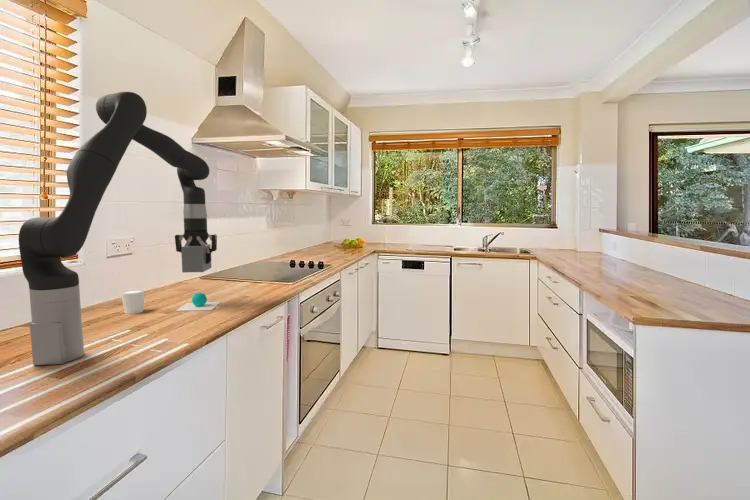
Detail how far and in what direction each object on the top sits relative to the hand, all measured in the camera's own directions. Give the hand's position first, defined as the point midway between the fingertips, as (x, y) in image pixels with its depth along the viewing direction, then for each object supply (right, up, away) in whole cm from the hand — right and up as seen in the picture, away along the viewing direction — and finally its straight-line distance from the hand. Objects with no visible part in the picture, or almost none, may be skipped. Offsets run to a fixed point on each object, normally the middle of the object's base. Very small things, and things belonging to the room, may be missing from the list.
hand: (197, 263), depth 147 cm
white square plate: (0, -16, +2) cm, 16 cm away
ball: (0, -13, +2) cm, 13 cm away
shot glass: (-19, -17, -6) cm, 26 cm away
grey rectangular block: (0, -2, 0) cm, 2 cm away
